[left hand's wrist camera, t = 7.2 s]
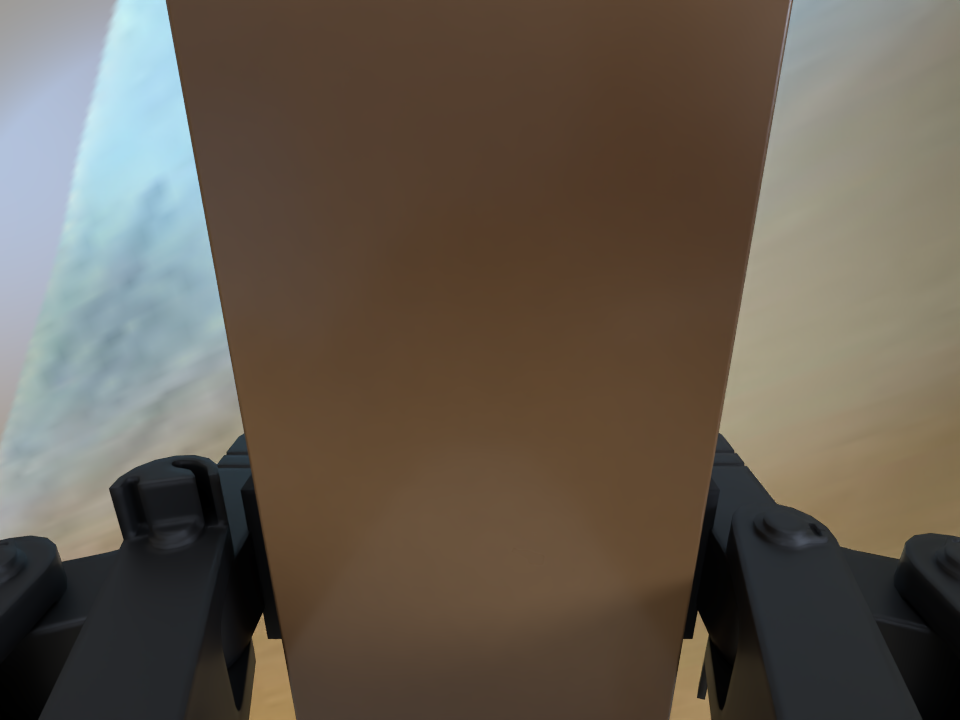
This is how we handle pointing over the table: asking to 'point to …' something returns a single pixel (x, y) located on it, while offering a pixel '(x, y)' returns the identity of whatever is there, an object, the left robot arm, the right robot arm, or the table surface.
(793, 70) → the table surface
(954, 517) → the table surface
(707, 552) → the left robot arm
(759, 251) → the table surface
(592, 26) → the post
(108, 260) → the table surface
